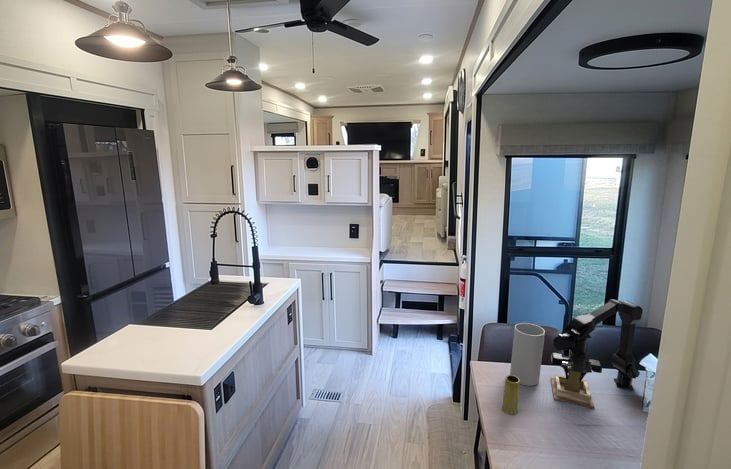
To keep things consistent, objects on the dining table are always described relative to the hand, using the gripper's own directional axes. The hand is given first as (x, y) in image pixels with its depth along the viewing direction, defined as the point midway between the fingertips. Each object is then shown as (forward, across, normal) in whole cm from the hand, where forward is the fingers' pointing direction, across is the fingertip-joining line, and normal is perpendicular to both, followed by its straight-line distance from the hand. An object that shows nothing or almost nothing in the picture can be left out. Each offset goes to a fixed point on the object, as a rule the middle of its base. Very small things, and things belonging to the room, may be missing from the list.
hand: (573, 380), depth 163 cm
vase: (+6, -25, -22) cm, 34 cm away
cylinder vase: (+7, -19, +4) cm, 21 cm away
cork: (+5, 0, 0) cm, 5 cm away
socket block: (+6, 0, 0) cm, 6 cm away
